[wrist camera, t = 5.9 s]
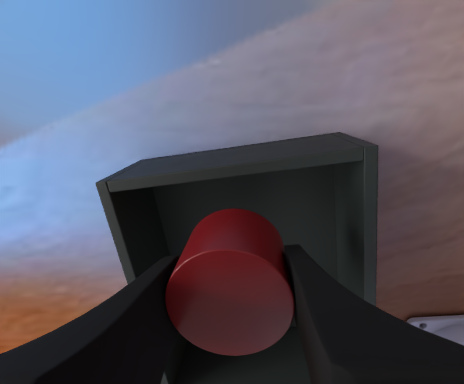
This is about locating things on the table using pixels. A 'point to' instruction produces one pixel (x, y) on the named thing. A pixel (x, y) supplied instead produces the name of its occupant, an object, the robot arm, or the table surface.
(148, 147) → the table surface
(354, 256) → the bin
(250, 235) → the red cylinder
